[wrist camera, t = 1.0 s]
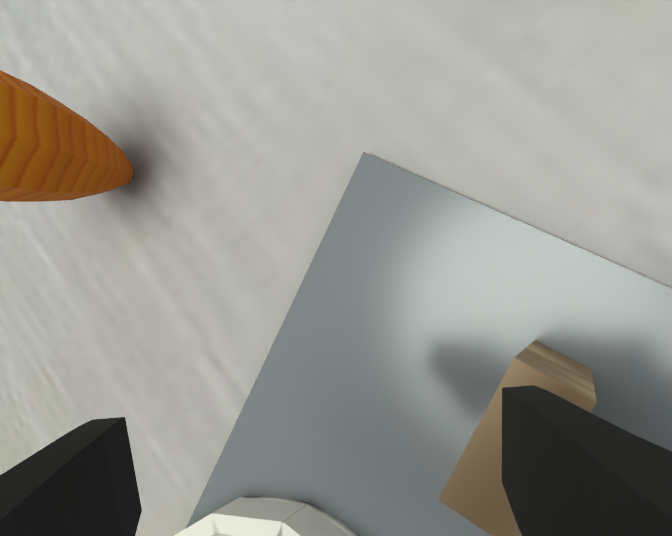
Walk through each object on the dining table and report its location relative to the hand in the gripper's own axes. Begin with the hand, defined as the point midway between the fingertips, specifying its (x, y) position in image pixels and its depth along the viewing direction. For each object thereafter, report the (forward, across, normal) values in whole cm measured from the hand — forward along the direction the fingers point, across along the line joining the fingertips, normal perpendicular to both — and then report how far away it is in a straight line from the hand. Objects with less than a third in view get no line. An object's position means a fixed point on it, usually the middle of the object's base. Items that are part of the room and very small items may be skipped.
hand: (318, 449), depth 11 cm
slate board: (+9, -2, +10) cm, 13 cm away
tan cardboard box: (+8, -7, +4) cm, 12 cm away
